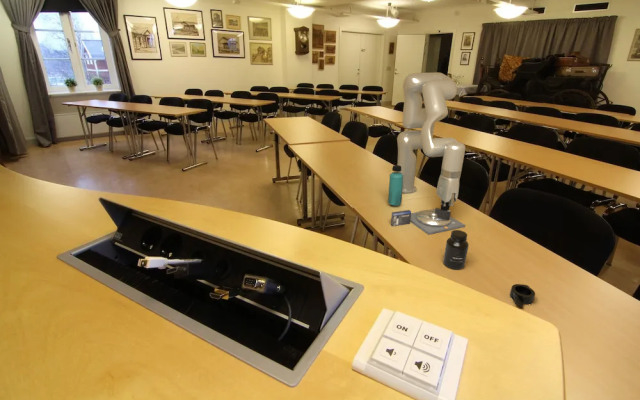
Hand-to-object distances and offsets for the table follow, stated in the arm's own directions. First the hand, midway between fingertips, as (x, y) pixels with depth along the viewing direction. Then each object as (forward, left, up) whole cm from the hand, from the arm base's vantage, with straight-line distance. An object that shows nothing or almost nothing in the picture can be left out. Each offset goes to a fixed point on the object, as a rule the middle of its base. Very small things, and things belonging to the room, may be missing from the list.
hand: (444, 213), depth 137 cm
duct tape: (+49, -13, -4) cm, 50 cm away
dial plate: (-1, -5, -4) cm, 6 cm away
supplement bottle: (+28, -19, -4) cm, 34 cm away
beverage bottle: (-22, -11, -4) cm, 25 cm away
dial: (-1, -5, -2) cm, 5 cm away
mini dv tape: (-4, -19, -4) cm, 20 cm away
